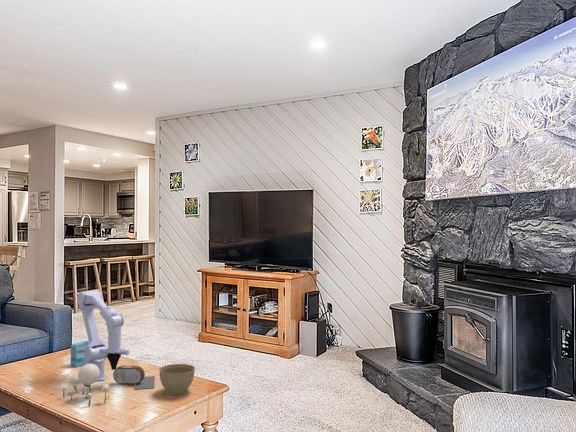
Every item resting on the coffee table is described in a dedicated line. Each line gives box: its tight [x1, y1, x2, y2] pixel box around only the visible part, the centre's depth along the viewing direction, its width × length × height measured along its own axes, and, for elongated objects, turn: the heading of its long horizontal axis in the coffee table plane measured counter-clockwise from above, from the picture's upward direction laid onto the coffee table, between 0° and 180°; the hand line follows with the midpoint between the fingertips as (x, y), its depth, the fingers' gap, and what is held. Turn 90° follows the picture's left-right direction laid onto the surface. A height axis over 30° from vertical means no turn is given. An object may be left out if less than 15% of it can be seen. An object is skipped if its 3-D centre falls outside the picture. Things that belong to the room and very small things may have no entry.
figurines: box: [61, 364, 110, 407], centre depth 212 cm, size 25×12×15 cm, turn 57°
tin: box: [112, 365, 146, 385], centre depth 233 cm, size 15×3×8 cm, turn 84°
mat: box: [134, 375, 156, 391], centre depth 235 cm, size 9×18×1 cm, turn 15°
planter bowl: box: [158, 363, 196, 396], centre depth 223 cm, size 16×16×11 cm
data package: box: [70, 340, 89, 368], centre depth 264 cm, size 12×4×12 cm, turn 143°
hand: (113, 369), depth 231 cm, fingers closed
